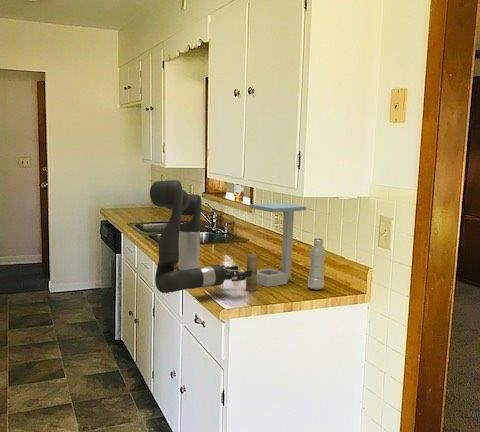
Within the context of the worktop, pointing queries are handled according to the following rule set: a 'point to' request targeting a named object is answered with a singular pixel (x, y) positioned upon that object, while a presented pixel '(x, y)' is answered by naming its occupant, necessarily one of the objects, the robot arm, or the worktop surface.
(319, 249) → the plastic bottle
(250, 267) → the peg
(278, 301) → the worktop surface
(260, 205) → the socket stand
